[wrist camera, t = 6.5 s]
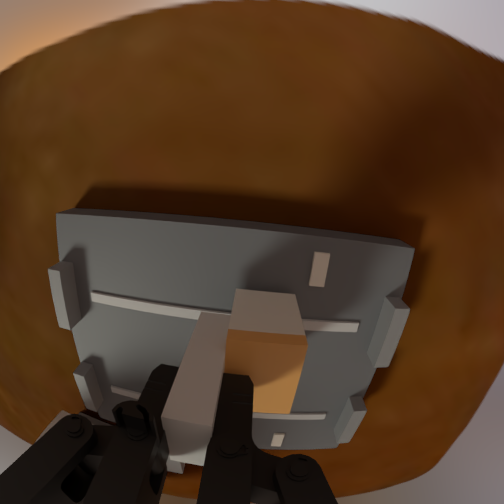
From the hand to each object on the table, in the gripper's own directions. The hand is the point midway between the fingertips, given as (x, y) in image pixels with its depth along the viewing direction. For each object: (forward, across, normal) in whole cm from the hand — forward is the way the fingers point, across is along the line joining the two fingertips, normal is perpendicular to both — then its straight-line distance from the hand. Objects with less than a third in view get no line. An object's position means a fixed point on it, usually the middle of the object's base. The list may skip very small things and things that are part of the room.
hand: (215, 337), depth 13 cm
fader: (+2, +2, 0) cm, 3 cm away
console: (+4, 0, -4) cm, 6 cm away
